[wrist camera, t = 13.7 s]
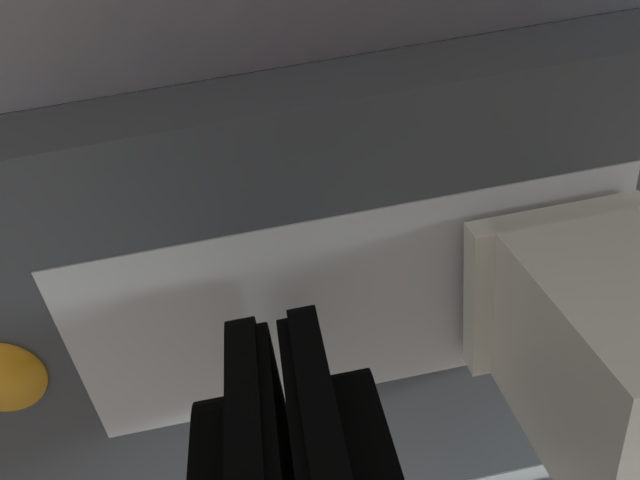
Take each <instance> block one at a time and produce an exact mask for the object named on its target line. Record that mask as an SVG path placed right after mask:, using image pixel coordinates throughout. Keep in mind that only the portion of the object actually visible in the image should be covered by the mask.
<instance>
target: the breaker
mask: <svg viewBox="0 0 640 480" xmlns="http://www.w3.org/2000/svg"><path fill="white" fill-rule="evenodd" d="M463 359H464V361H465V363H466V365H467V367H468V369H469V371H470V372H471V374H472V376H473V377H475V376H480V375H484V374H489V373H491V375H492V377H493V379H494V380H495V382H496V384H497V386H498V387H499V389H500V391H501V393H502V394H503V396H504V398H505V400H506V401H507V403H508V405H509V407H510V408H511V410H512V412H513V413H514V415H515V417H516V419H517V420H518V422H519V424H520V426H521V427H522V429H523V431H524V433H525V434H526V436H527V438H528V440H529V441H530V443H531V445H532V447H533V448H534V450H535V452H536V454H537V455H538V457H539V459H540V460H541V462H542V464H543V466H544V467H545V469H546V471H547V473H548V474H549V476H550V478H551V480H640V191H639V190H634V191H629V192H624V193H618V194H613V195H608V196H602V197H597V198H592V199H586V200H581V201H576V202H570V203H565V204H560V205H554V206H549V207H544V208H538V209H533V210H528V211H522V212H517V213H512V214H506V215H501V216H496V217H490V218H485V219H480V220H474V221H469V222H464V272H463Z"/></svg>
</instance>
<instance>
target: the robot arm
mask: <svg viewBox="0 0 640 480" xmlns="http://www.w3.org/2000/svg"><path fill="white" fill-rule="evenodd" d="M286 313H287V318H283V319H278V320H276V325H277V333H278V342H279V350H280V358H281V367H282V375H283V384H284V392H285V398H284V394H283V389H282V385H281V380H280V376H279V371H278V367H277V362H276V358H275V354H274V349H273V345H272V340H271V336H270V331H269V327H268V323H267V322H262V323H256V319H255V317H254V316H251V317H246V318H241V319H235V320H230V321H225V323H224V396H222V397H217V398H211V399H206V400H201V401H196V402H193V405H192V409H191V418H190V433H189V447H188V461H187V476H186V480H405V479H404V475H403V472H402V469H401V466H400V462H399V459H398V456H397V453H396V449H395V446H394V443H393V440H392V436H391V433H390V430H389V427H388V424H387V420H386V417H385V414H384V411H383V407H382V404H381V401H380V398H379V394H378V391H377V388H376V385H375V382H374V378H373V375H372V372H371V370H370V368H364V369H359V370H354V371H349V372H344V373H339V374H334V375H330V370H329V366H328V361H327V357H326V352H325V348H324V343H323V339H322V334H321V330H320V325H319V321H318V316H317V312H316V307H315V305H309V306H304V307H299V308H293V309H288V310H286ZM285 400H286V402H285Z"/></svg>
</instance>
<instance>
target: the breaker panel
mask: <svg viewBox="0 0 640 480" xmlns="http://www.w3.org/2000/svg"><path fill="white" fill-rule="evenodd" d="M634 190H639V191H640V8H636V9H630V10H624V11H618V12H612V13H606V14H600V15H594V16H588V17H582V18H576V19H570V20H564V21H558V22H552V23H546V24H540V25H534V26H528V27H522V28H516V29H510V30H504V31H498V32H492V33H486V34H480V35H474V36H468V37H462V38H456V39H450V40H444V41H438V42H432V43H426V44H420V45H414V46H408V47H402V48H396V49H390V50H384V51H378V52H372V53H366V54H360V55H354V56H348V57H342V58H336V59H330V60H324V61H318V62H312V63H306V64H300V65H294V66H288V67H282V68H276V69H270V70H264V71H258V72H252V73H246V74H240V75H234V76H228V77H222V78H216V79H210V80H204V81H198V82H192V83H186V84H180V85H174V86H168V87H162V88H156V89H150V90H144V91H138V92H132V93H126V94H120V95H114V96H108V97H102V98H96V99H90V100H84V101H78V102H72V103H66V104H60V105H54V106H48V107H42V108H36V109H30V110H24V111H18V112H12V113H6V114H0V480H186V476H187V461H188V447H189V433H190V418H191V409H192V405H193V402H196V401H201V400H206V399H211V398H217V397H222V396H224V323H225V321H230V320H235V319H241V318H246V317H251V316H254V317H255V319H256V323H262V322H267V323H268V327H269V331H270V336H271V340H272V345H273V349H274V354H275V358H276V362H277V367H278V371H279V376H280V380H281V385H282V389H283V394H284V398H285V392H284V384H283V375H282V367H281V358H280V350H279V342H278V333H277V325H276V320H278V319H283V318H287V313H286V310H288V309H293V308H299V307H304V306H309V305H315V307H316V312H317V316H318V321H319V325H320V330H321V334H322V339H323V343H324V348H325V352H326V357H327V361H328V366H329V370H330V375H334V374H339V373H344V372H349V371H354V370H359V369H364V368H370V370H371V372H372V375H373V378H374V382H375V385H376V388H377V391H378V394H379V398H380V401H381V404H382V407H383V411H384V414H385V417H386V420H387V424H388V427H389V430H390V433H391V436H392V440H393V443H394V446H395V449H396V453H397V456H398V459H399V462H400V466H401V469H402V472H403V475H404V479H405V480H551V478H550V476H549V474H548V473H547V471H546V469H545V467H544V466H543V464H542V462H541V460H540V459H539V457H538V455H537V454H536V452H535V450H534V448H533V447H532V445H531V443H530V441H529V440H528V438H527V436H526V434H525V433H524V431H523V429H522V427H521V426H520V424H519V422H518V420H517V419H516V417H515V415H514V413H513V412H512V410H511V408H510V407H509V405H508V403H507V401H506V400H505V398H504V396H503V394H502V393H501V391H500V389H499V387H498V386H497V384H496V382H495V380H494V379H493V377H492V375H491V373H489V374H484V375H480V376H475V377H473V376H472V374H471V372H470V371H469V369H468V367H467V365H466V363H465V361H464V359H463V272H464V222H469V221H474V220H480V219H485V218H490V217H496V216H501V215H506V214H512V213H517V212H522V211H528V210H533V209H538V208H544V207H549V206H554V205H560V204H565V203H570V202H576V201H581V200H586V199H592V198H597V197H602V196H608V195H613V194H618V193H624V192H629V191H634ZM285 402H286V400H285Z"/></svg>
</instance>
